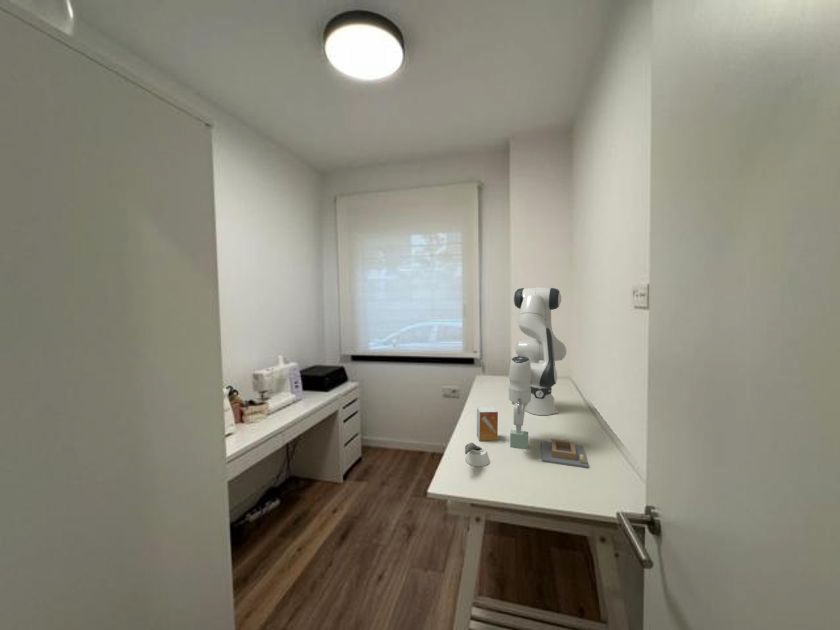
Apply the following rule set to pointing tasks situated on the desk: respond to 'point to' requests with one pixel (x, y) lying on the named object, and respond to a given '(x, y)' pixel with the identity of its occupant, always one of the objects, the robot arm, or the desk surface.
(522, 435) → the sage block
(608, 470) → the desk surface
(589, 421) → the desk surface
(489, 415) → the small box
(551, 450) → the keyed plate
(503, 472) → the desk surface
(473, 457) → the inkwell
